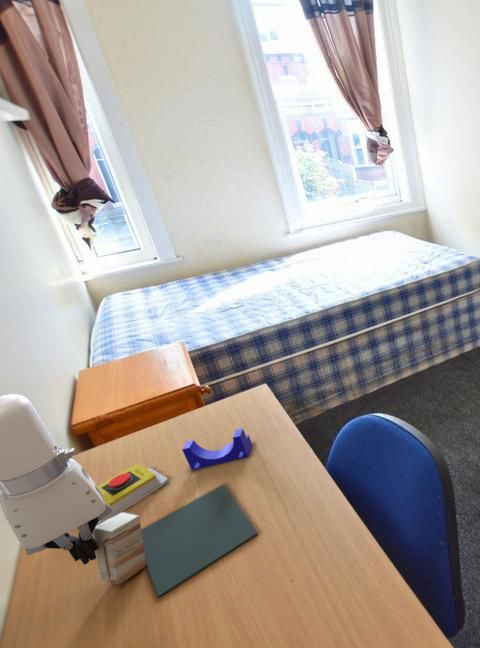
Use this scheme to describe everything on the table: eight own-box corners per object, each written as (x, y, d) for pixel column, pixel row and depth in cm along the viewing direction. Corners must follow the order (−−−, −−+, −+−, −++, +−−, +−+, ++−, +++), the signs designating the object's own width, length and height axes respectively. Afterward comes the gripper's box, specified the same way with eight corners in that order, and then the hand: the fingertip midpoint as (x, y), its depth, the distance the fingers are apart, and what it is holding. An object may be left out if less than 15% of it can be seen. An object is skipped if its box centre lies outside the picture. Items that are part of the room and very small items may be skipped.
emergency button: (162, 465, 103) (79, 515, 91) (170, 481, 104) (89, 532, 93) (142, 454, 107) (61, 500, 96) (150, 469, 109) (71, 516, 97)
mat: (158, 597, 78) (158, 596, 78) (135, 534, 91) (134, 533, 91) (257, 534, 88) (257, 532, 88) (224, 485, 101) (223, 484, 101)
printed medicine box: (118, 586, 79) (108, 532, 78) (99, 581, 80) (89, 528, 79) (149, 564, 84) (140, 514, 83) (130, 561, 85) (121, 510, 84)
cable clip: (252, 444, 114) (244, 424, 111) (248, 456, 110) (239, 436, 107) (198, 457, 111) (189, 437, 109) (191, 470, 107) (181, 449, 105)
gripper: (92, 436, 78) (138, 517, 85) (-36, 490, 68) (28, 576, 76) (98, 455, 73) (147, 539, 80) (-39, 516, 63) (30, 605, 71)
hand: (89, 556), depth 78 cm, fingers closed
